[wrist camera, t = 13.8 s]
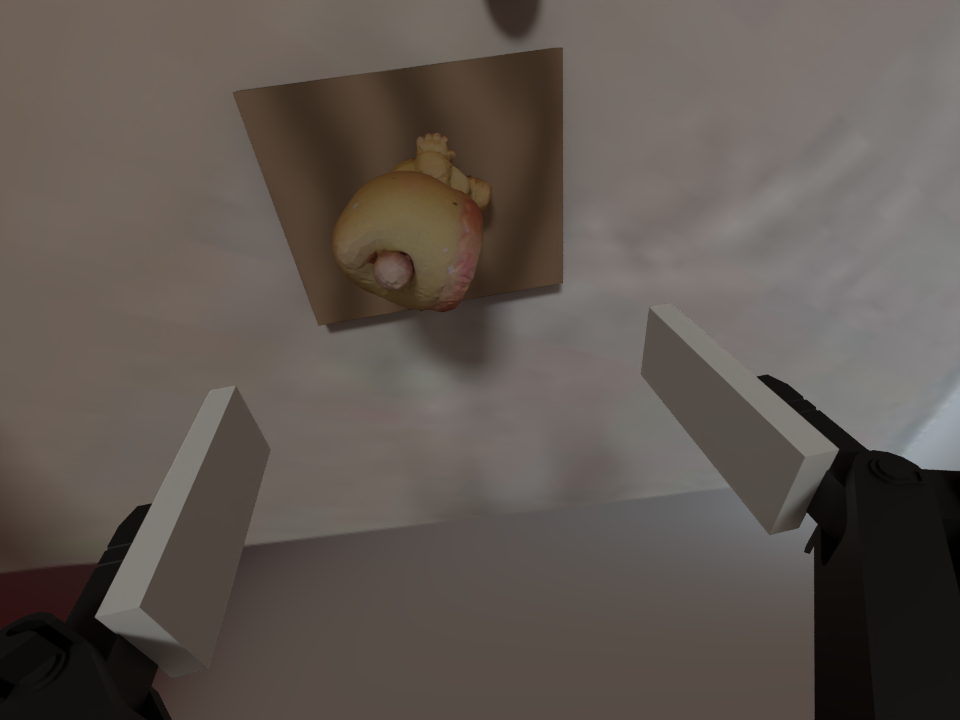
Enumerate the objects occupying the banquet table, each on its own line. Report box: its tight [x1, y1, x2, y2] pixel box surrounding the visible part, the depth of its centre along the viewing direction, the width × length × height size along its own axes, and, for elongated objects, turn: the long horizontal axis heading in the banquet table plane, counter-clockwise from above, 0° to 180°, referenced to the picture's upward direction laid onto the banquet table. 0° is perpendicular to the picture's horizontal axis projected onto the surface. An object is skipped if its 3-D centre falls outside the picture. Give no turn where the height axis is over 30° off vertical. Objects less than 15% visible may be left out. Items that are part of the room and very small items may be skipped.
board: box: [233, 48, 563, 326], centre depth 32 cm, size 20×16×2 cm
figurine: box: [332, 133, 492, 312], centre depth 26 cm, size 10×8×15 cm
